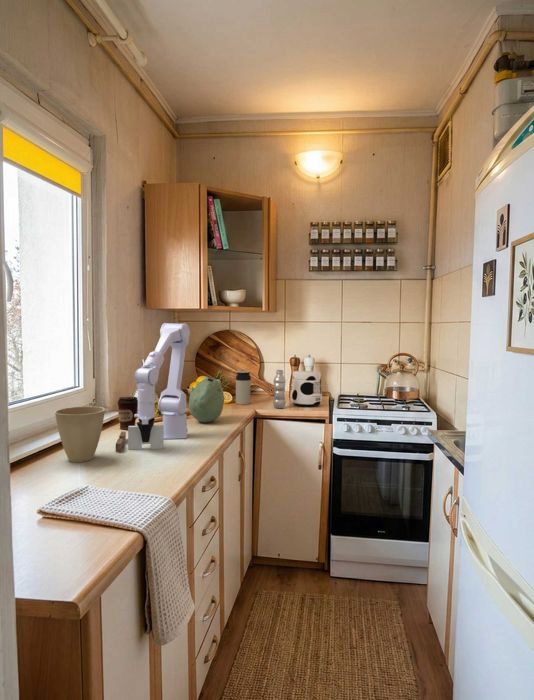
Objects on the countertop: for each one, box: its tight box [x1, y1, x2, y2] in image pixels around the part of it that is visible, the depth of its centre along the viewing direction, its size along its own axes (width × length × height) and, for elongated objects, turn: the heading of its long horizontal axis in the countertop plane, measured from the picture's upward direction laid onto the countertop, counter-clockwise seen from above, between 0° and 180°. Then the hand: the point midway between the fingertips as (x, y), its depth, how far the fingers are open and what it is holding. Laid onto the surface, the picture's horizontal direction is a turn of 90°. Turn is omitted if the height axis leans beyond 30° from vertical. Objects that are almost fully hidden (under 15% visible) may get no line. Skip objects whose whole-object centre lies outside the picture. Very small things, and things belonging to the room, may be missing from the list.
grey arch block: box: [127, 424, 165, 451], centre depth 167 cm, size 12×2×8 cm, turn 101°
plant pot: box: [54, 405, 106, 463], centre depth 153 cm, size 15×15×16 cm
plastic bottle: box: [272, 369, 287, 409], centre depth 248 cm, size 6×7×20 cm
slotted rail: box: [115, 430, 127, 453], centre depth 170 cm, size 2×18×3 cm, turn 11°
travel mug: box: [235, 369, 252, 406], centre depth 260 cm, size 8×8×18 cm
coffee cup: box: [117, 396, 138, 430], centre depth 196 cm, size 9×8×13 cm
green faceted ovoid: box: [187, 376, 225, 424], centre depth 211 cm, size 16×19×20 cm
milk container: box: [290, 370, 323, 407], centre depth 259 cm, size 17×17×18 cm
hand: (146, 440), depth 167 cm, fingers open, 4 cm apart
